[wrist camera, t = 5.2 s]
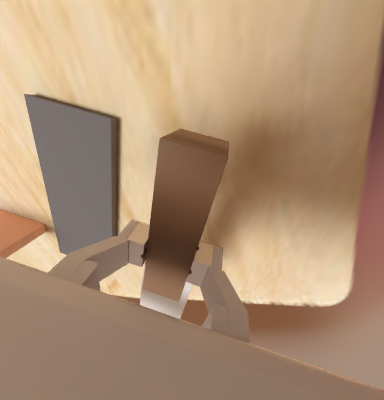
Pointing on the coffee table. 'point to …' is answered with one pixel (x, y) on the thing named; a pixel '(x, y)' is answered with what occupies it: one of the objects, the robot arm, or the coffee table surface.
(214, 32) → the coffee table surface
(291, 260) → the coffee table surface
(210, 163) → the brown handled tool
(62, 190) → the rubber mat
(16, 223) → the tile
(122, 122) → the coffee table surface
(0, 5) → the coffee table surface
